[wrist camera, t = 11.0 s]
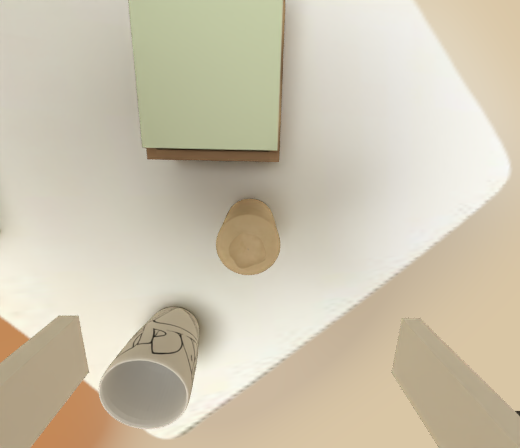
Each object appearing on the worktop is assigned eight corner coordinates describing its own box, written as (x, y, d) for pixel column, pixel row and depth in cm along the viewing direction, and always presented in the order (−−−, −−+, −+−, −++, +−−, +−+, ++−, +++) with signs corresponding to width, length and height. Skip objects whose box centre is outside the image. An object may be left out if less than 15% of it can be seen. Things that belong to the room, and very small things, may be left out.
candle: (281, 209, 30) (294, 236, 20) (261, 250, 31) (264, 292, 21) (238, 189, 29) (229, 207, 19) (219, 231, 30) (202, 267, 21)
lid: (129, -70, 17) (105, -113, 14) (283, -64, 17) (289, -104, 15) (148, 147, 21) (132, 146, 18) (276, 150, 21) (279, 149, 18)
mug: (196, 375, 36) (175, 457, 26) (136, 364, 35) (90, 443, 25) (213, 306, 33) (196, 368, 23) (148, 291, 32) (102, 350, 23)
